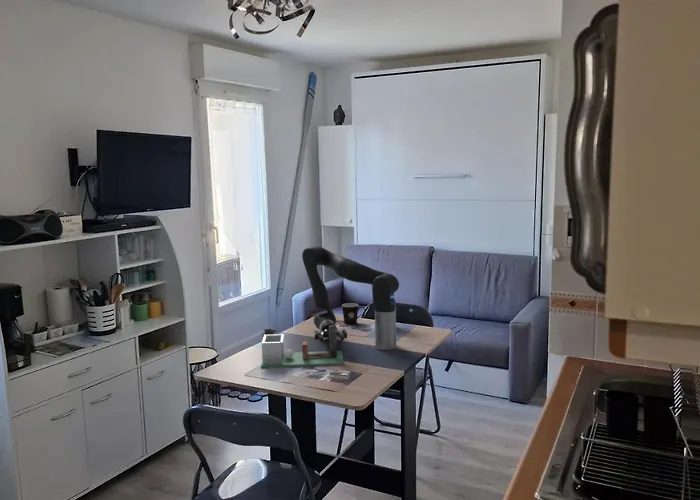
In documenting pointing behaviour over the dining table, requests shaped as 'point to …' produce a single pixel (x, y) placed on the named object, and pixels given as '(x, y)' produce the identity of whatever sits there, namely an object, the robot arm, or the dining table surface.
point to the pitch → (307, 361)
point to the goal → (272, 349)
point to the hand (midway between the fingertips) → (332, 339)
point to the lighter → (269, 332)
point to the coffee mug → (351, 313)
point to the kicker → (331, 345)
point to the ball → (288, 354)
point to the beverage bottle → (394, 303)
